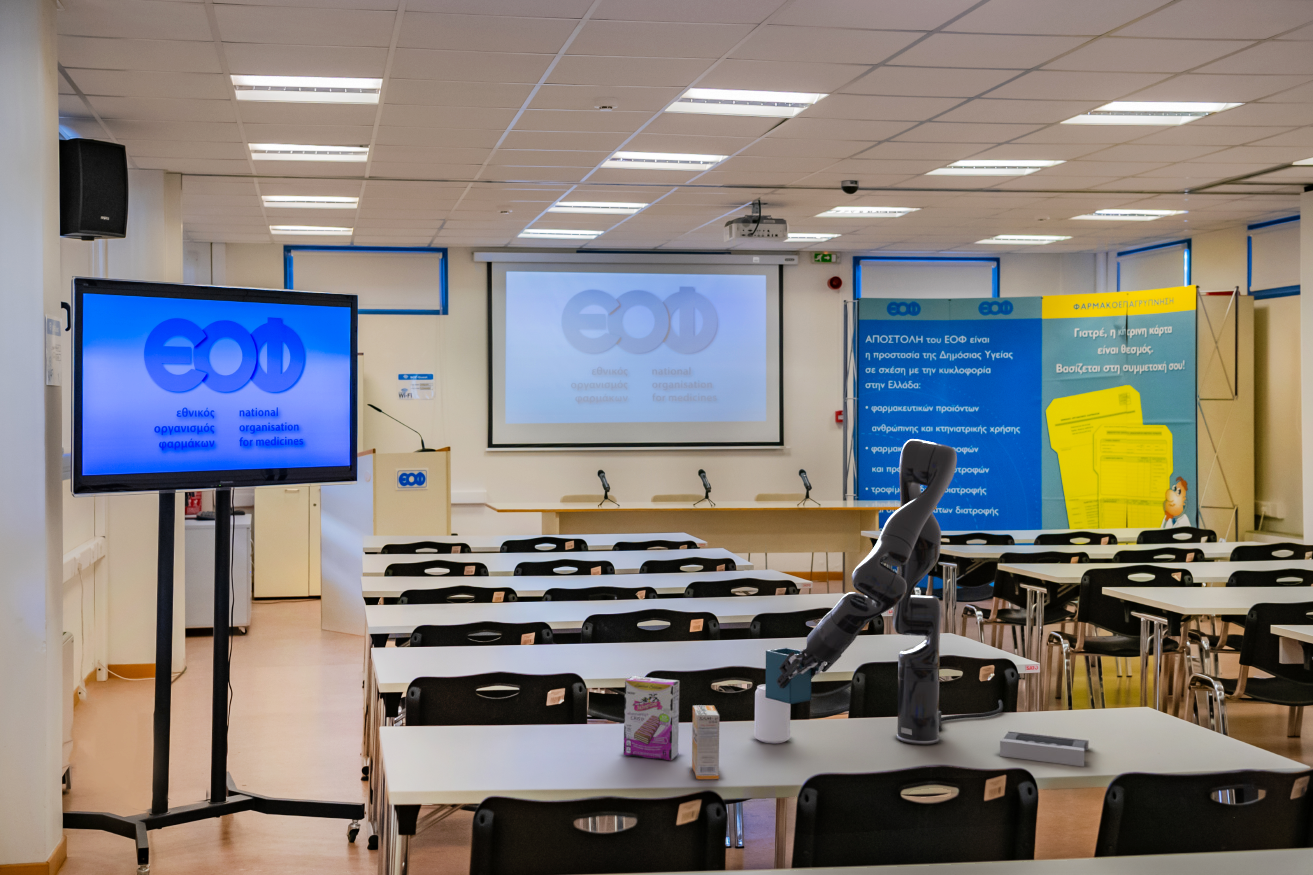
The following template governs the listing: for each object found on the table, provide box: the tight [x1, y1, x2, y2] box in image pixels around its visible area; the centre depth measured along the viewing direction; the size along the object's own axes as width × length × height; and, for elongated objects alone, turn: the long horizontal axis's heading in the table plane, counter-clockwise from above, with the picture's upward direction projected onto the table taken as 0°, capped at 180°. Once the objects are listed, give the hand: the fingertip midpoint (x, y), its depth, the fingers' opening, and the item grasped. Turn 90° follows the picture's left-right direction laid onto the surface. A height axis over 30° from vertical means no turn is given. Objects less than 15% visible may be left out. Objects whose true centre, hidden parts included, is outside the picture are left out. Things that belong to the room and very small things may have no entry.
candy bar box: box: [623, 675, 681, 761], centre depth 237 cm, size 11×5×16 cm, turn 71°
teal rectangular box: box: [765, 647, 812, 705], centre depth 233 cm, size 10×6×8 cm
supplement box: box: [691, 704, 720, 780], centre depth 224 cm, size 8×5×13 cm, turn 5°
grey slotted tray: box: [999, 730, 1090, 767], centre depth 244 cm, size 17×5×16 cm
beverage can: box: [753, 683, 791, 744], centre depth 251 cm, size 8×8×12 cm
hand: (791, 682), depth 232 cm, fingers closed on teal rectangular box, 6 cm apart
